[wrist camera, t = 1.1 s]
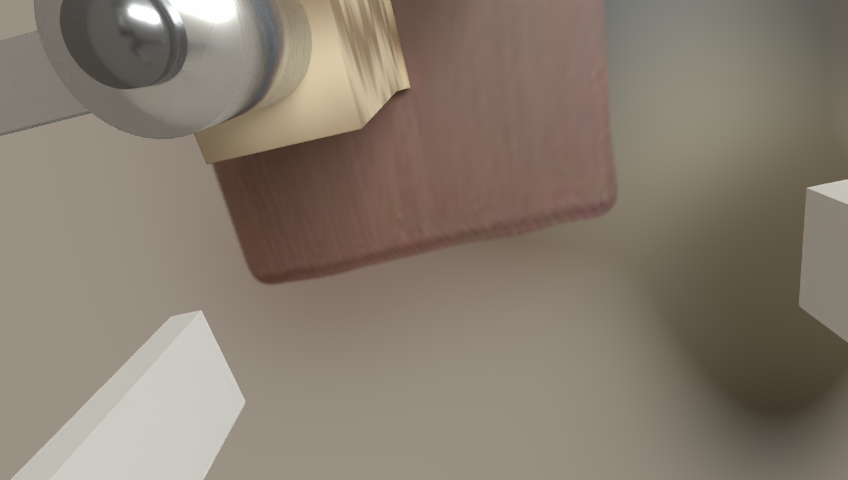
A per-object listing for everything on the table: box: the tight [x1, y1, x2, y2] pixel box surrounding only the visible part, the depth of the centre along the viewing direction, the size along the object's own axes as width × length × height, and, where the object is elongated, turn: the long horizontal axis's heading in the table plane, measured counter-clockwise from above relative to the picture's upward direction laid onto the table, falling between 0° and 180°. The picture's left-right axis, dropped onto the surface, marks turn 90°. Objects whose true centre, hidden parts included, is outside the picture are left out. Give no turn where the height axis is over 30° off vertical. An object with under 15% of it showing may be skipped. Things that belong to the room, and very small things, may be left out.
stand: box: [194, 0, 410, 164], centre depth 34 cm, size 11×9×27 cm
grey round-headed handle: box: [0, 0, 312, 139], centre depth 18 cm, size 6×16×9 cm, turn 103°
